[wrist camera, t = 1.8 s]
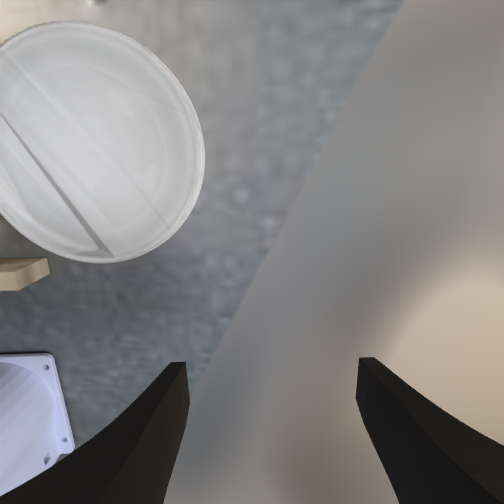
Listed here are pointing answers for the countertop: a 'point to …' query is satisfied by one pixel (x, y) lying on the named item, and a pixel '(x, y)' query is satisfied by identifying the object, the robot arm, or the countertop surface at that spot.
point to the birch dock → (21, 272)
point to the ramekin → (94, 143)
